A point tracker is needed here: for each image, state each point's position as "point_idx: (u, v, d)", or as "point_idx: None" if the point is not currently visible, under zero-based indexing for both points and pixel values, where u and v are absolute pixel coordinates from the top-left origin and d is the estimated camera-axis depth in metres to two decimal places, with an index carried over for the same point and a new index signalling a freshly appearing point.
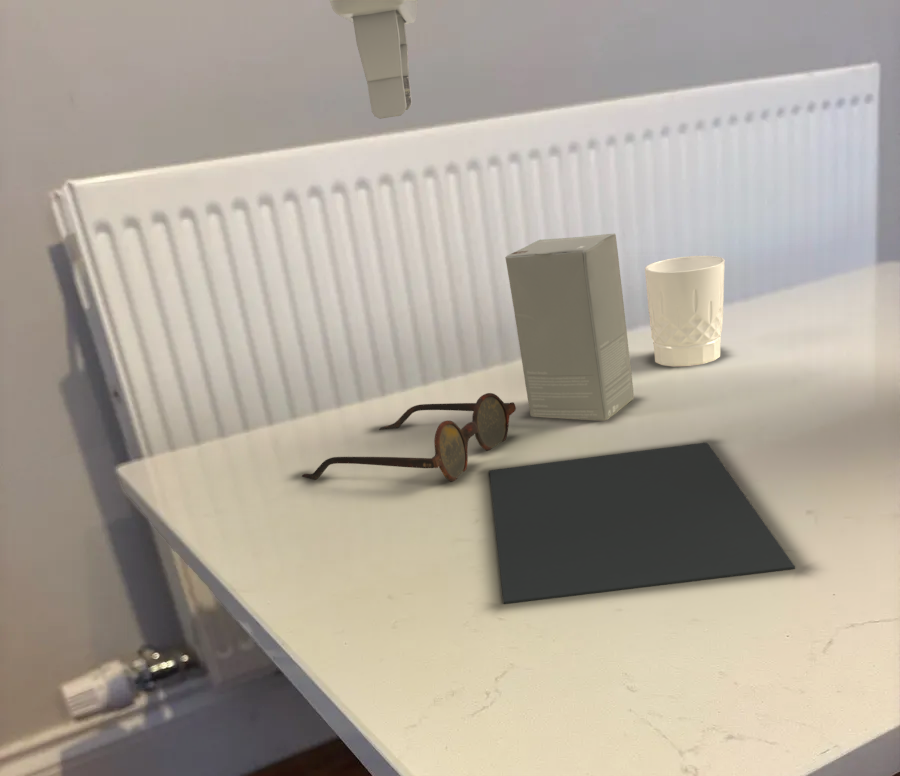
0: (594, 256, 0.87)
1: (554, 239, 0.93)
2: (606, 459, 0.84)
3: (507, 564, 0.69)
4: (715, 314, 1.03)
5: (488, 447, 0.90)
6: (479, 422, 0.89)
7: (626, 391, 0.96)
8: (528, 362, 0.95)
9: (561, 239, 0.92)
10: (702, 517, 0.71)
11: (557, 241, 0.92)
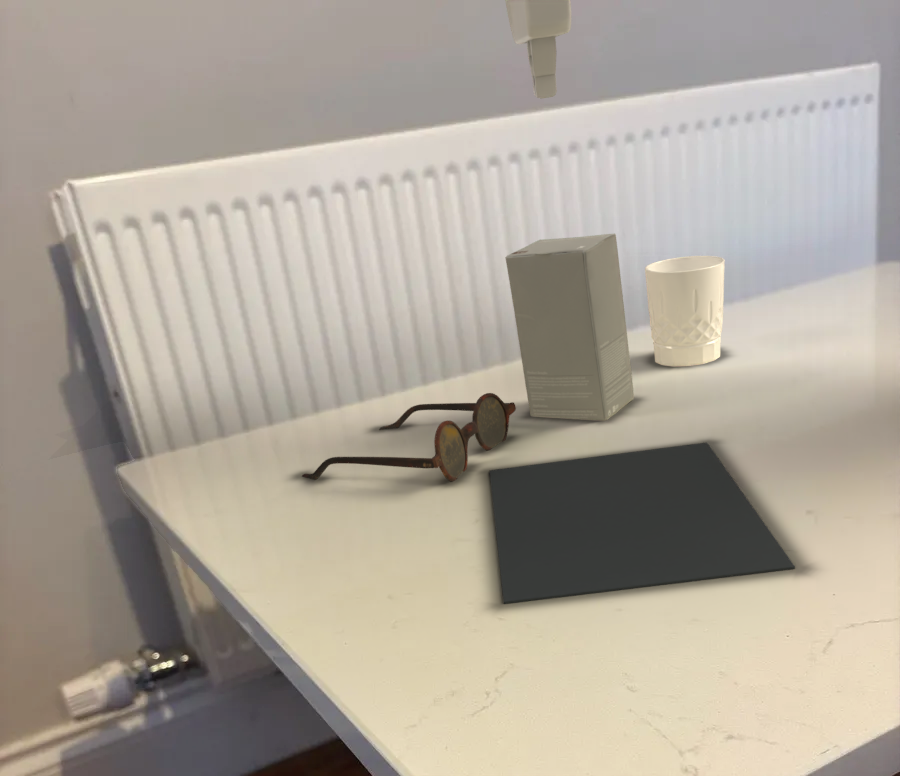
0: (594, 256, 0.87)
1: (554, 239, 0.93)
2: (606, 459, 0.84)
3: (507, 564, 0.69)
4: (715, 314, 1.03)
5: (488, 447, 0.90)
6: (479, 422, 0.89)
7: (626, 391, 0.96)
8: (528, 362, 0.95)
9: (561, 239, 0.92)
10: (702, 517, 0.71)
11: (557, 241, 0.92)
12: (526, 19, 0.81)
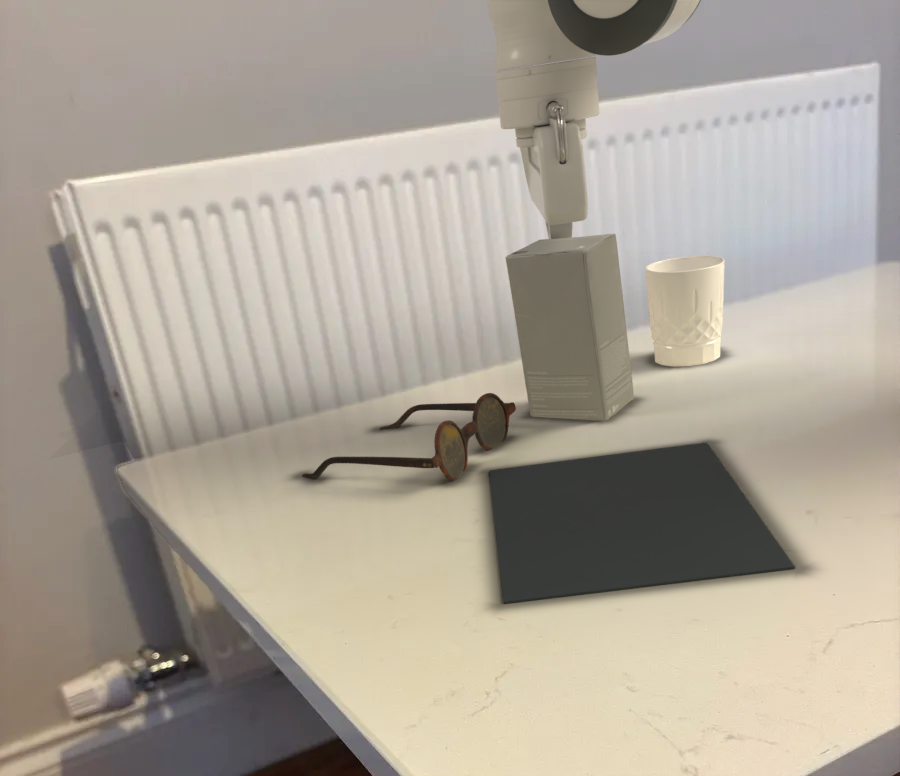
0: (594, 256, 0.87)
1: (554, 239, 0.93)
2: (606, 459, 0.84)
3: (507, 564, 0.69)
4: (715, 314, 1.03)
5: (488, 447, 0.90)
6: (479, 422, 0.89)
7: (626, 391, 0.96)
8: (528, 362, 0.95)
9: (561, 239, 0.92)
10: (702, 517, 0.71)
11: (557, 241, 0.92)
12: (545, 209, 0.86)
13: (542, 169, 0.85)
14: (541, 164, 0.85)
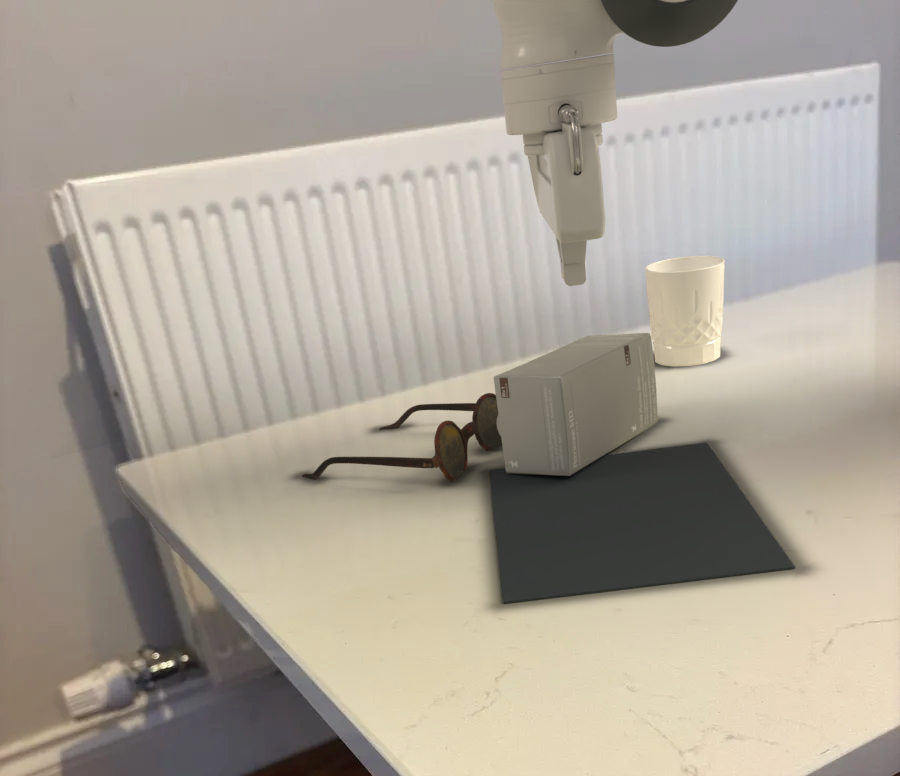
0: None
1: (555, 402, 0.78)
2: (606, 459, 0.84)
3: (507, 564, 0.69)
4: (715, 314, 1.03)
5: (488, 447, 0.90)
6: (479, 422, 0.89)
7: None
8: None
9: (551, 414, 0.79)
10: (702, 517, 0.71)
11: (542, 415, 0.79)
12: (557, 226, 0.76)
13: (554, 181, 0.75)
14: (553, 175, 0.75)
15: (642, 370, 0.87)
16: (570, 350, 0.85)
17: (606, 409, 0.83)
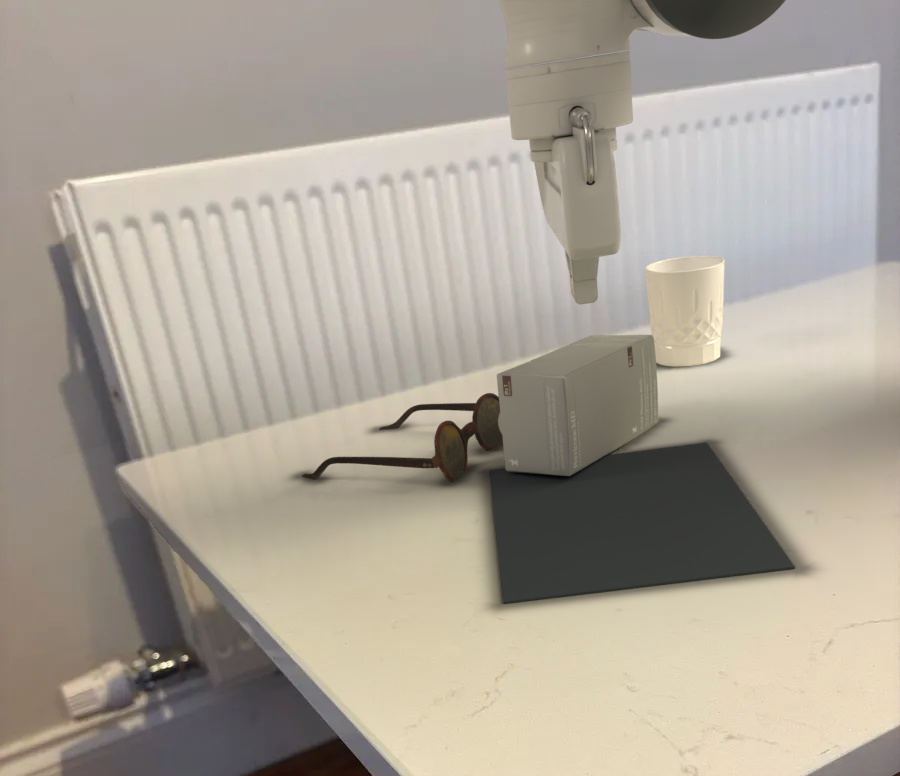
0: None
1: (557, 402, 0.78)
2: (606, 459, 0.84)
3: (507, 564, 0.69)
4: (715, 314, 1.03)
5: (488, 447, 0.90)
6: (479, 422, 0.89)
7: None
8: None
9: (553, 414, 0.79)
10: (702, 517, 0.71)
11: (544, 414, 0.79)
12: (567, 240, 0.69)
13: (564, 191, 0.68)
14: (563, 185, 0.68)
15: (644, 372, 0.87)
16: (573, 350, 0.85)
17: (608, 410, 0.83)
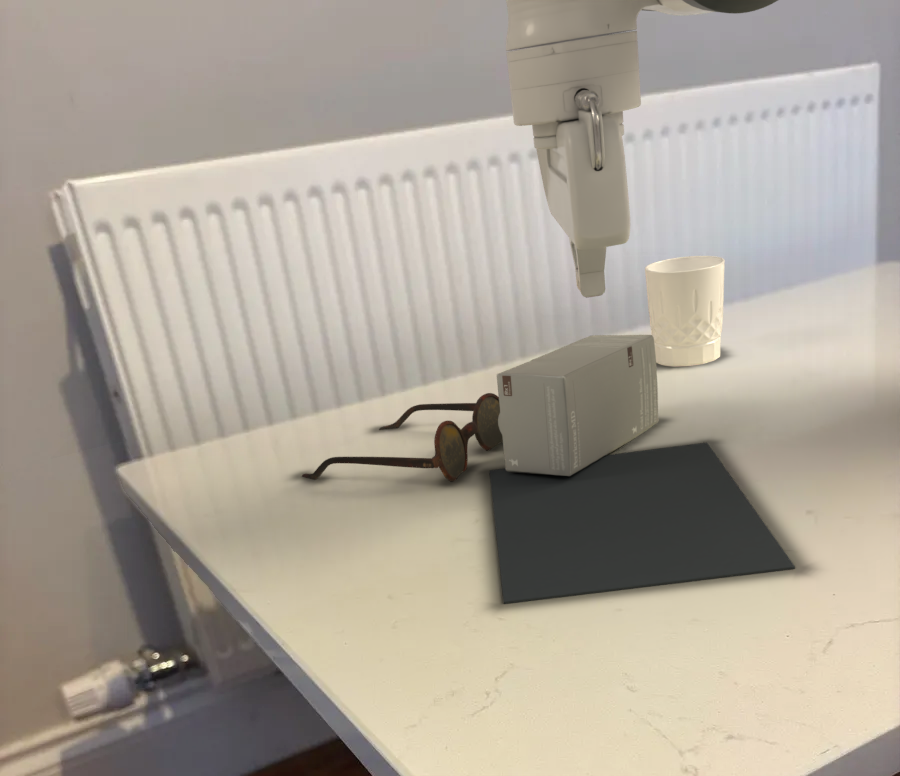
0: None
1: (557, 402, 0.78)
2: (606, 459, 0.84)
3: (507, 564, 0.69)
4: (715, 314, 1.03)
5: (488, 447, 0.90)
6: (479, 422, 0.89)
7: None
8: None
9: (553, 414, 0.79)
10: (702, 517, 0.71)
11: (544, 414, 0.79)
12: (574, 230, 0.66)
13: (571, 178, 0.64)
14: (569, 171, 0.64)
15: (644, 372, 0.87)
16: (573, 350, 0.85)
17: (608, 410, 0.83)
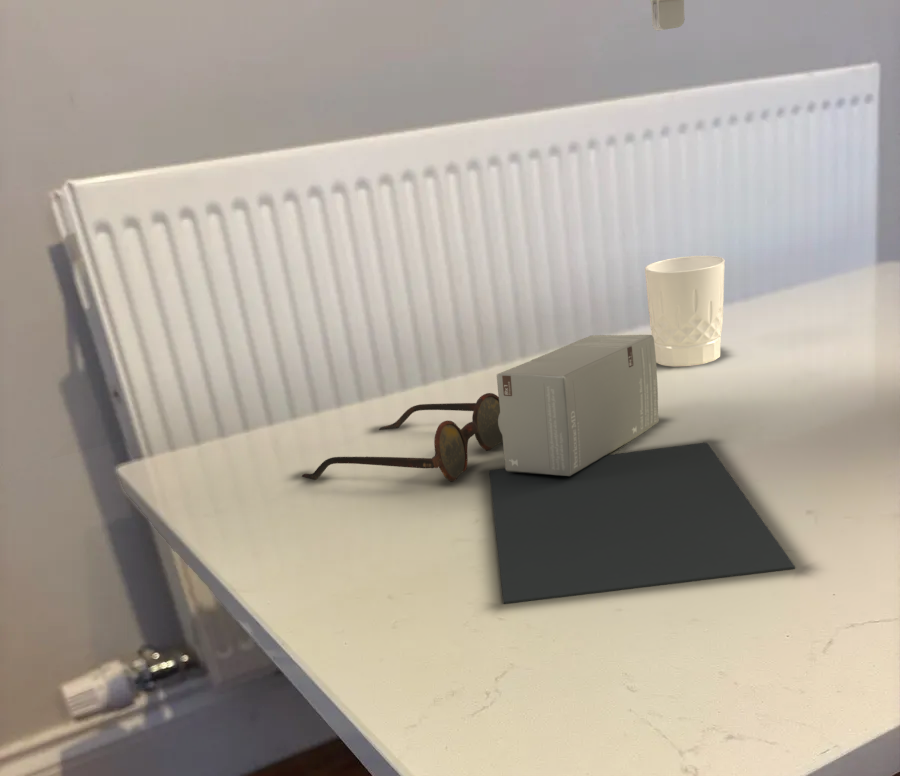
0: None
1: (557, 402, 0.78)
2: (606, 459, 0.84)
3: (507, 564, 0.69)
4: (715, 314, 1.03)
5: (488, 447, 0.90)
6: (479, 422, 0.89)
7: None
8: None
9: (553, 414, 0.79)
10: (702, 517, 0.71)
11: (544, 414, 0.79)
12: None
13: None
14: None
15: (644, 372, 0.87)
16: (573, 350, 0.85)
17: (608, 410, 0.83)
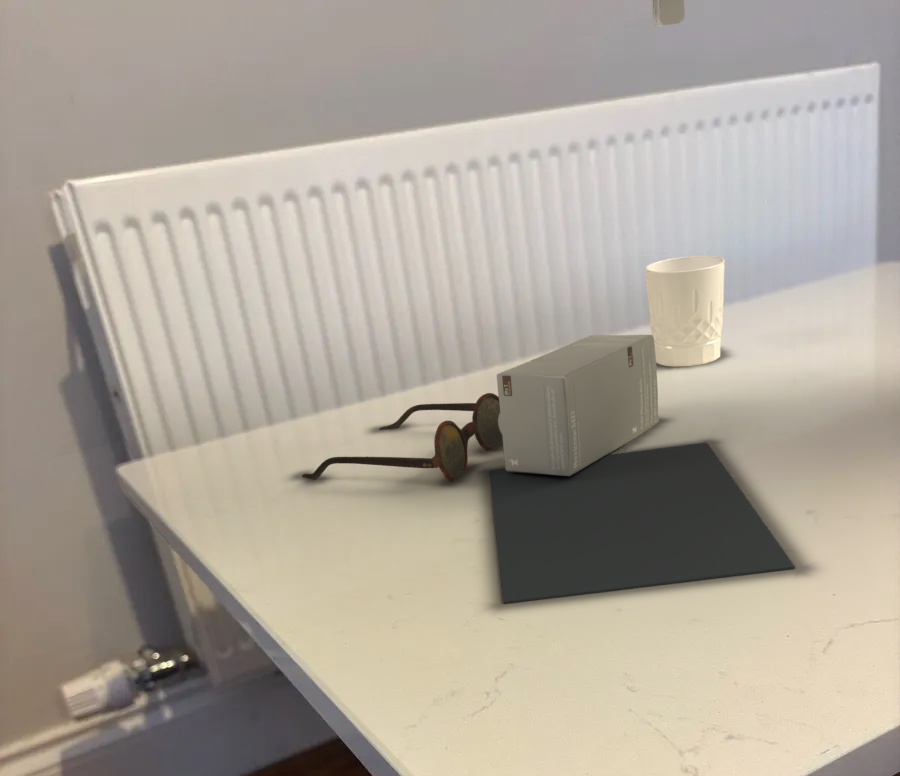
0: None
1: (557, 402, 0.78)
2: (606, 459, 0.84)
3: (507, 564, 0.69)
4: (715, 314, 1.03)
5: (488, 447, 0.90)
6: (479, 422, 0.89)
7: None
8: None
9: (553, 414, 0.79)
10: (702, 517, 0.71)
11: (544, 414, 0.79)
12: None
13: None
14: None
15: (644, 372, 0.87)
16: (573, 350, 0.85)
17: (608, 410, 0.83)
